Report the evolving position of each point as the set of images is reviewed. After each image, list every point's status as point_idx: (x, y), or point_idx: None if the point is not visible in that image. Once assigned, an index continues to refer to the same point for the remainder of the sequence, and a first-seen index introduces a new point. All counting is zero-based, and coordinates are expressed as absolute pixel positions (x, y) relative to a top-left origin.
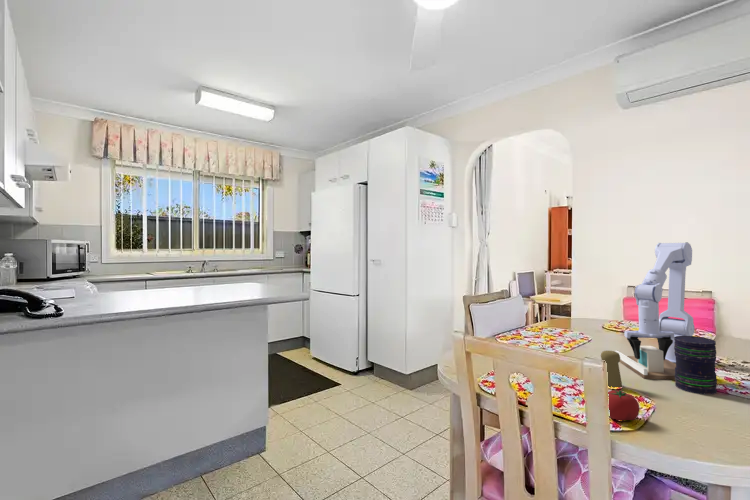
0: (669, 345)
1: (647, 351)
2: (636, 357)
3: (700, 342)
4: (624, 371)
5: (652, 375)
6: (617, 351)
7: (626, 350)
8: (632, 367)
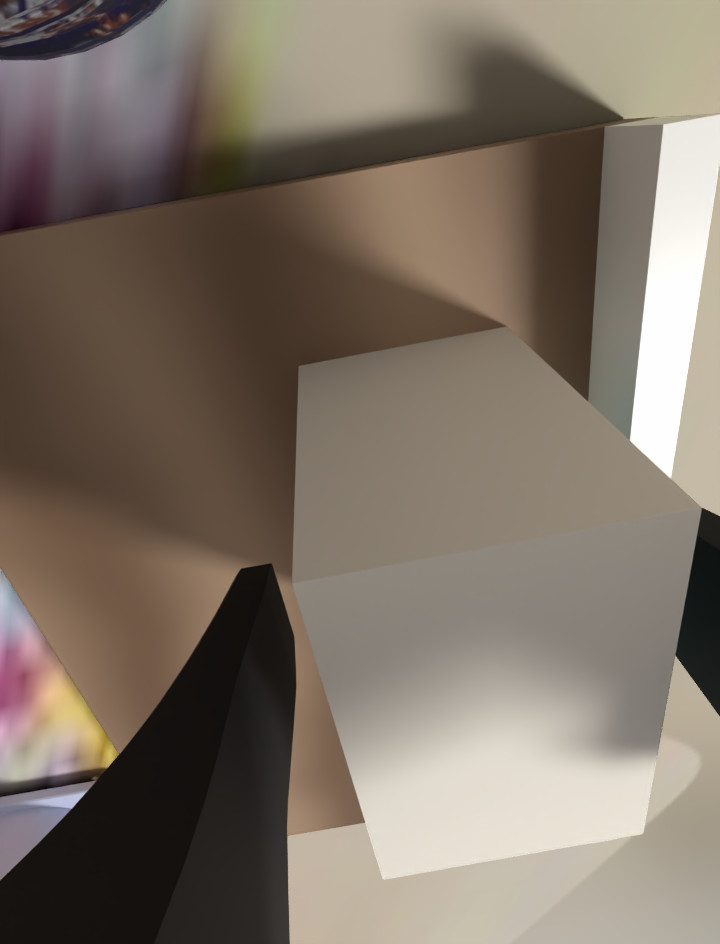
0: (61, 844)
1: (688, 518)
2: None
3: None
4: (709, 407)
5: (525, 141)
6: None
7: (389, 924)
8: None
